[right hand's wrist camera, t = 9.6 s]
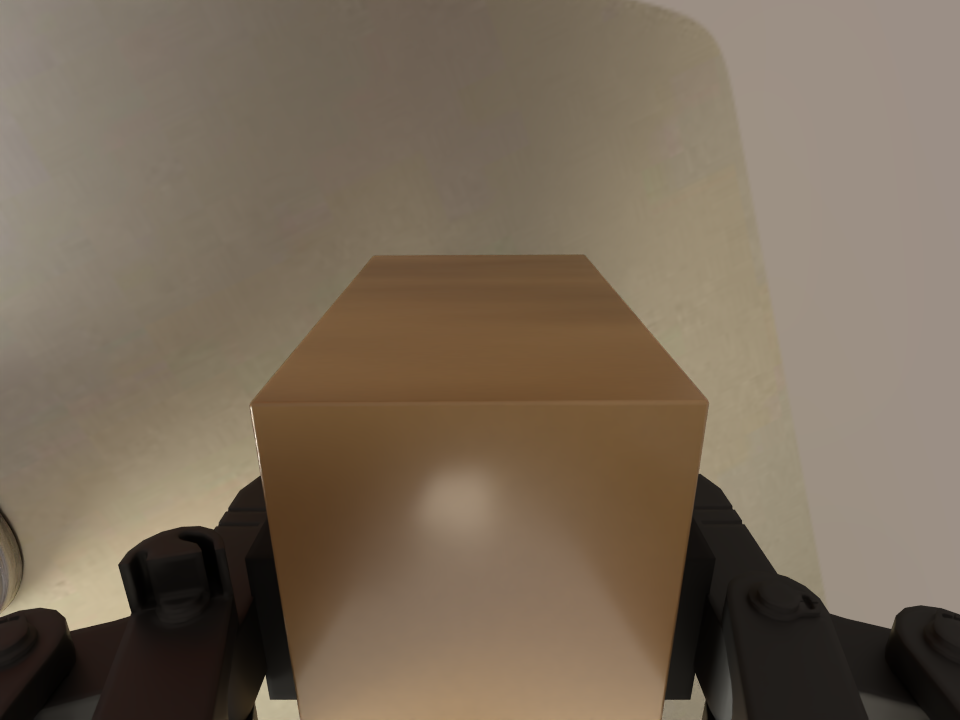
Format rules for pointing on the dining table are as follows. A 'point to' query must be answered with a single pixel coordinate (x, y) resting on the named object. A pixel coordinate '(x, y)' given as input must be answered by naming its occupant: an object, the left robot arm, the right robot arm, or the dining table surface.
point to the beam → (479, 495)
